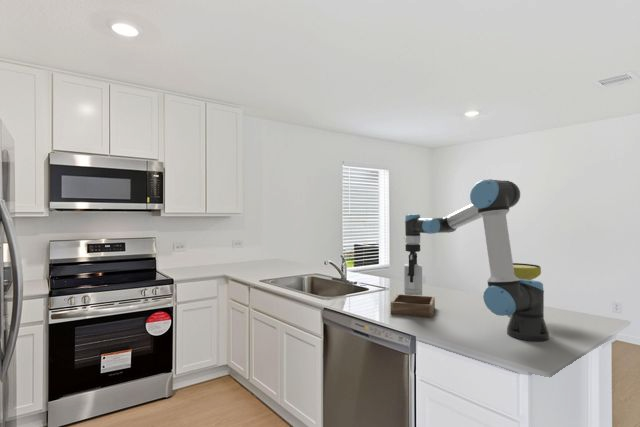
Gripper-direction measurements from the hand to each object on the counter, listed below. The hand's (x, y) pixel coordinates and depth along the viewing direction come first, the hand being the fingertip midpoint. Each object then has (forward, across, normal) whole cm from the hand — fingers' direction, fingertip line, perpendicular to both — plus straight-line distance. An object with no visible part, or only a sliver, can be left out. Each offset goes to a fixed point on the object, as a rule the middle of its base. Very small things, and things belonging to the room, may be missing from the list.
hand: (413, 286), depth 193 cm
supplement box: (+4, 0, 0) cm, 4 cm away
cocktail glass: (+13, -6, +50) cm, 52 cm away
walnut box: (+13, 0, 0) cm, 13 cm away
